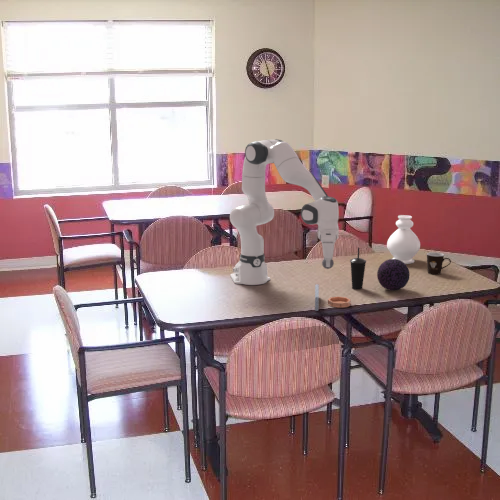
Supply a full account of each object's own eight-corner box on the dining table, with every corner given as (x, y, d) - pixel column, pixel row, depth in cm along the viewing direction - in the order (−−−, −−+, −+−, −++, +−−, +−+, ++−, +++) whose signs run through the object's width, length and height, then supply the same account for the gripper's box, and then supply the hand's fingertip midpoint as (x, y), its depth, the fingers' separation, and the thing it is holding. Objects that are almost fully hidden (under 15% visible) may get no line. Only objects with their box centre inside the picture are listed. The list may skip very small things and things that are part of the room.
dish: (324, 302, 315) (324, 298, 315) (343, 299, 319) (343, 295, 319) (334, 308, 306) (334, 304, 306) (354, 306, 310) (354, 301, 310)
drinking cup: (357, 291, 332) (358, 250, 327) (345, 287, 338) (347, 247, 333) (368, 288, 336) (370, 247, 331) (357, 285, 342) (358, 245, 337)
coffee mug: (422, 272, 364) (423, 253, 361) (432, 270, 369) (434, 251, 366) (440, 277, 355) (441, 258, 352) (451, 274, 360) (452, 255, 357)
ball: (320, 267, 310) (320, 256, 309) (330, 266, 312) (330, 255, 311) (325, 270, 306) (325, 259, 305) (335, 269, 307) (335, 258, 306)
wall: (315, 296, 323) (315, 284, 322) (318, 296, 323) (318, 284, 322) (314, 310, 304) (315, 297, 303) (318, 310, 304) (318, 297, 303)
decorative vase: (382, 257, 396) (384, 213, 390) (414, 256, 397) (416, 213, 391) (390, 265, 378) (393, 219, 373) (423, 264, 379) (426, 219, 374)
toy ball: (371, 286, 339) (372, 256, 335) (399, 284, 343) (401, 254, 339) (385, 295, 325) (386, 264, 321) (414, 293, 329) (416, 262, 325)
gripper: (321, 229, 316) (320, 259, 319) (320, 238, 296) (320, 270, 299) (335, 229, 315) (334, 259, 318) (335, 238, 295) (335, 270, 298)
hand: (328, 265), depth 309 cm, fingers closed on ball, 5 cm apart
